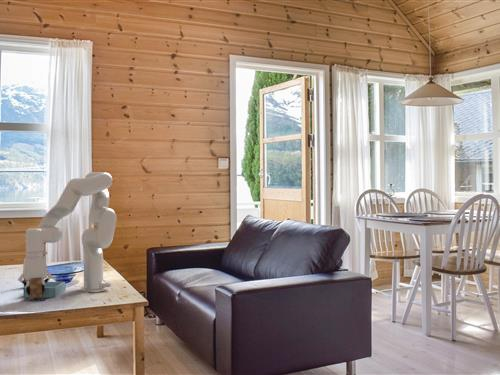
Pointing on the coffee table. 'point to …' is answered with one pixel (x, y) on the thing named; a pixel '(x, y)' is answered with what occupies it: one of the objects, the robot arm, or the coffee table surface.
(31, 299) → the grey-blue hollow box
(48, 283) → the bin
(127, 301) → the coffee table surface
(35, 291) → the brown cylinder
